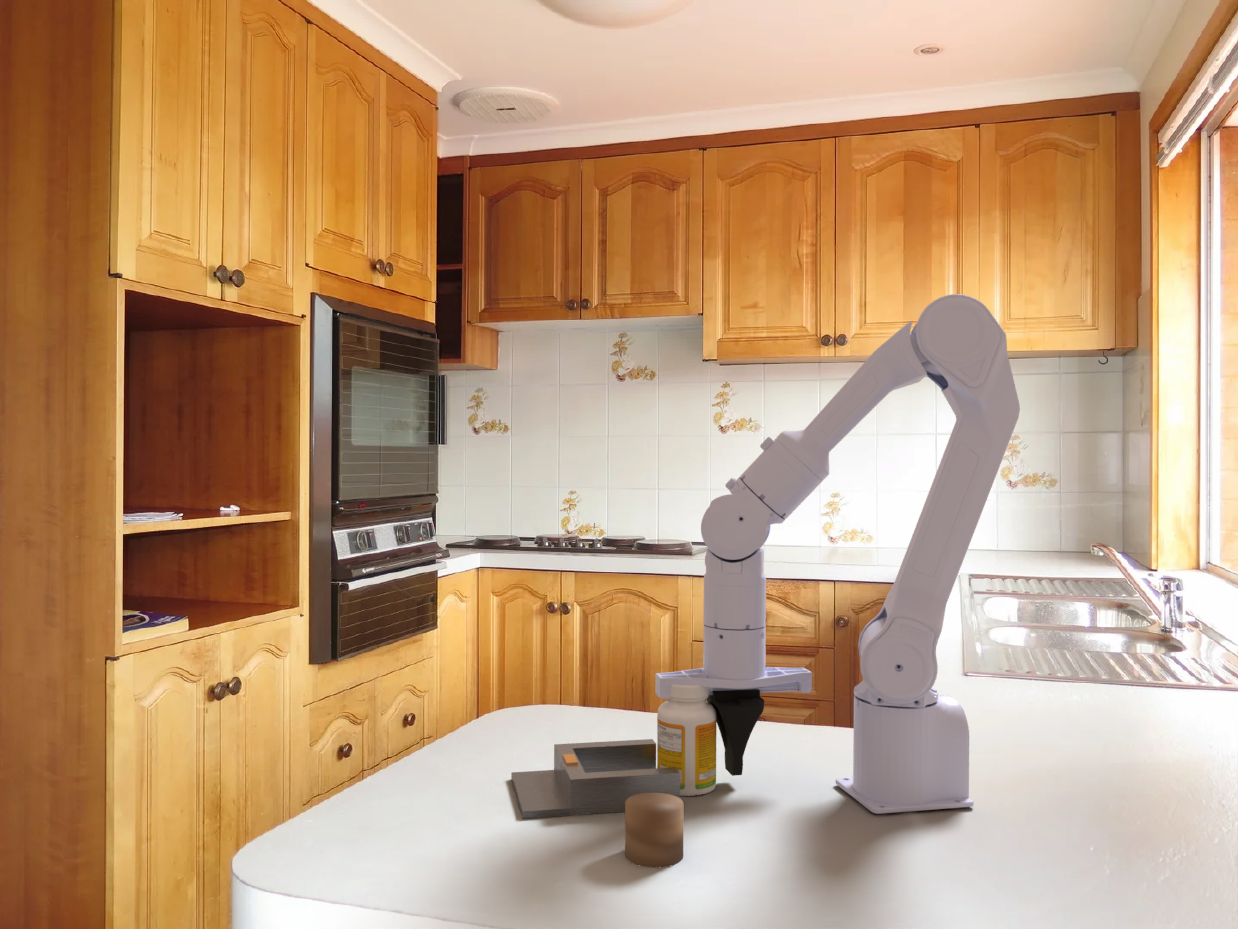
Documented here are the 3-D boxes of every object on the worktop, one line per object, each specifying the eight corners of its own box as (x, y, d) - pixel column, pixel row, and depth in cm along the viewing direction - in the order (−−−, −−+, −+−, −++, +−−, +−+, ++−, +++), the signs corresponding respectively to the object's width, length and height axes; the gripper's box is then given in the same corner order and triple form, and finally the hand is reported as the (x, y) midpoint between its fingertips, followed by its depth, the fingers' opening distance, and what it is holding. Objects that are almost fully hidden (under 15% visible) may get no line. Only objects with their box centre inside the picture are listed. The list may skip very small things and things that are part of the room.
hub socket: (652, 770, 92) (652, 737, 92) (679, 807, 82) (680, 770, 82) (511, 779, 89) (511, 744, 89) (522, 818, 79) (522, 780, 79)
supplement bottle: (712, 777, 90) (712, 674, 90) (719, 797, 85) (720, 688, 85) (655, 777, 90) (655, 674, 90) (659, 798, 85) (659, 688, 85)
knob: (674, 842, 75) (675, 791, 75) (690, 865, 71) (690, 811, 71) (619, 846, 74) (620, 794, 74) (632, 870, 70) (632, 815, 70)
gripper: (792, 615, 94) (790, 754, 94) (647, 619, 91) (646, 762, 91) (821, 628, 87) (820, 778, 87) (666, 633, 84) (665, 788, 84)
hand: (733, 772), depth 88 cm, fingers closed
